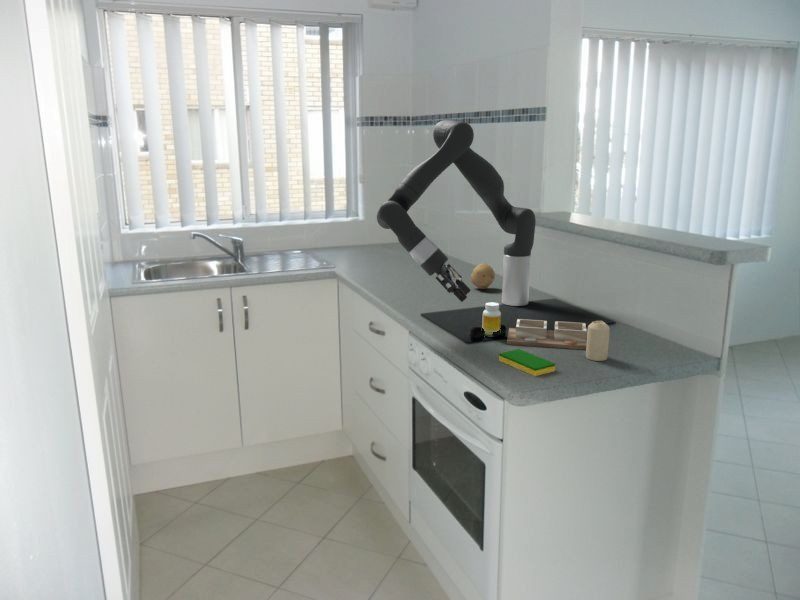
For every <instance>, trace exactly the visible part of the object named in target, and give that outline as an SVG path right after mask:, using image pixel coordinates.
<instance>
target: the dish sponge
mask: <svg viewBox="0 0 800 600" xmlns="http://www.w3.org/2000/svg"><path fill="white" fill-rule="evenodd" d="M498 355H499V356H498V361H499V362H501V363H503V362H504V363H503V364H506V365H508V364H509V365H508V366H510V367H512V366H513V368H515V369H517V370H520V371H522V372H524V373H527V374H529V375H531V376H533V377H537V376H541V375H545V374H549V373H554V372H555V371H556V363H555V362H553V361H550V360H549V359H545V358H542V357H540V356H538V355H535V354H532V353H531V352H527V351H525V350H523V349H520V348H516V349H512V350H507V351H503V352H499V353H498Z"/></svg>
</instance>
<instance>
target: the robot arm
mask: <svg viewBox="0 0 800 600" xmlns="http://www.w3.org/2000/svg"><path fill="white" fill-rule="evenodd" d="M432 133H433V135H432V136H433V142H434V144H435V145H436V147H437V148H438V150H437V151H436V152H435V153H433V154H432V155H431V156H430V157H429V158H427V159H426V160H424V161H423V162H421V163H420V164H418V165H416V166H415V167H414V168H413V169H411V171H409V173H407V175H406V176H405V177H404V178H403V180H401V182H400V183H399V184H398V186H397V187H396V189H395V191H394V192H393V194H392V195H391V196H390V197H389V198H388V199H387V201H384V202H383V203H382V204H381V205H380V207H379V209H378V211H377V213H376V221H377V223H378V225H379V226H380V227H381V228H383V229H385V230H391V231H392V232H393V233H394V234H395V236H396V237H397V241H398V242H399V244H400V245H401V246H402V247H403V248H404V250H405V251H407V253H409V254H410V256H411V257H412V259H413V261H415V262H416V263H417V264H418V265H419V267H421V268H422V270H423V271H424V272H425V273H426V274H427V275H428V276H431V277H432V276H433V275H434V274H436V277H435V279H436V281H438V282H439V284H440V285H441V286H442V287H443V288H444V289H445V290H446V292H447V293H448V294H450V293H451V294H454V296H455V297H456V298H457V299H458V300H459V301H460V302H461V303H463V302H464V301H466V300H467V297H468V296H467V295H469V293H470V292H471V288H470V287H468V285H467V284H466V283H465V282H464V280H463V278H462V275H461V274H459V272H458V271H456V269H455V268H454V267H453V266H452V265H451V263H448V264H446V263H447V262H448V260H449V258H448V256H447V255H446V254H445V253H444V252H443V251H442V250H441V249H440V247H439V246H438V245H436V244H435V242H433V240H431V239H430V238H429V237H428V236H427V235H426V234H425V233H424V232H423V231H422V229H420V228H419V227H418V226H417V225H416V224H415V223H414V221H413V219H412V218H411V216H410V215H409V214H408V211H410V209H411V207H412V206H413V205H414V204H415V203H416V202H418V200H419V199H420V198H421V196H422V195H423V194H424V193H425V192H426V190H427V189H428V188H429V187H431V184H432V183H434V181H435V180H436V179H437V178H438V177H439V176H440V175H441V174H442V173H444V171H446V170H447V169H448V168H449V167H450V166H451V165H452V164H454V165H455V167H456V168H457V169H458V171H459V172H460V173H461V175H462V176H463V177H464V179H465V180H466V181H467V182H468V184H469V185H470V186H471V188H472V189H473V190H474V192H475V193H476V194H477V195H478V196H479V197H480V199H481V200H482V201H483V202H484V204H485V205H486V207H487V208H488V209H489V210H490V212H491V214H492V215H493V216H494V218H495V220H496V221H497V223H498V225H499V227H500V228H501V229H502V230H503V232H505V233H506V234H509V235H515V236H514V241H513V242H512V243H509V244H506V245H504V248H503V261H502V262H503V263H502V265H503V266H502V286H501V288H502V289H501V303H502V304H503V305H506V306H513V307H519V306H520V307H521V306H527V305H528V304H529V296H530V295H529V294H530V280H531V279H530V278H531V259H532V257H531V256H532V250H533V246H534V242H535V234H536V233H535V232H536V220H537V219H536V215H535V212H534V211H533V210H532V209H530V208H527V207H519V206H518V207H517V206H513V205H512V204H511V203H510V202H509V201H508V199H507V198H506V197H505V195H504V193H505V183H504V180H503V178H502V176H501V175H500V174H499V172H498V171H497V169H496V167H494V166H493V165H492V164H491V163H490V162H489V161H488V160H487V159H485V158H484V157H483V156H481V154H479V153H477V152H476V151H474V150H473V149H472V148H471V146H472V144H473V141H474V137H475V136H474V135H475V134H474V129H473V127H472V126H471V125H470V124H469V123H467V122H465V121H460V120H454V119H444V120H440V121H439V122H437V123H436V125H435V126H434V127H433V132H432Z"/></svg>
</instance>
